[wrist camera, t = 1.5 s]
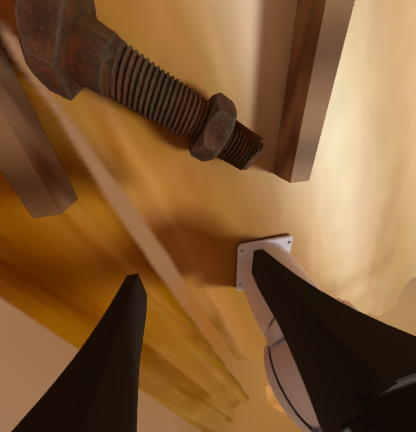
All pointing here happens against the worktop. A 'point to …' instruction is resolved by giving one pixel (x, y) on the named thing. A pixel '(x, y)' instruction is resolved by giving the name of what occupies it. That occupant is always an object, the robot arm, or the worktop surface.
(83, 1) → the bolt
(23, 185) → the u-shaped bracket
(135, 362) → the robot arm
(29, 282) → the worktop surface
